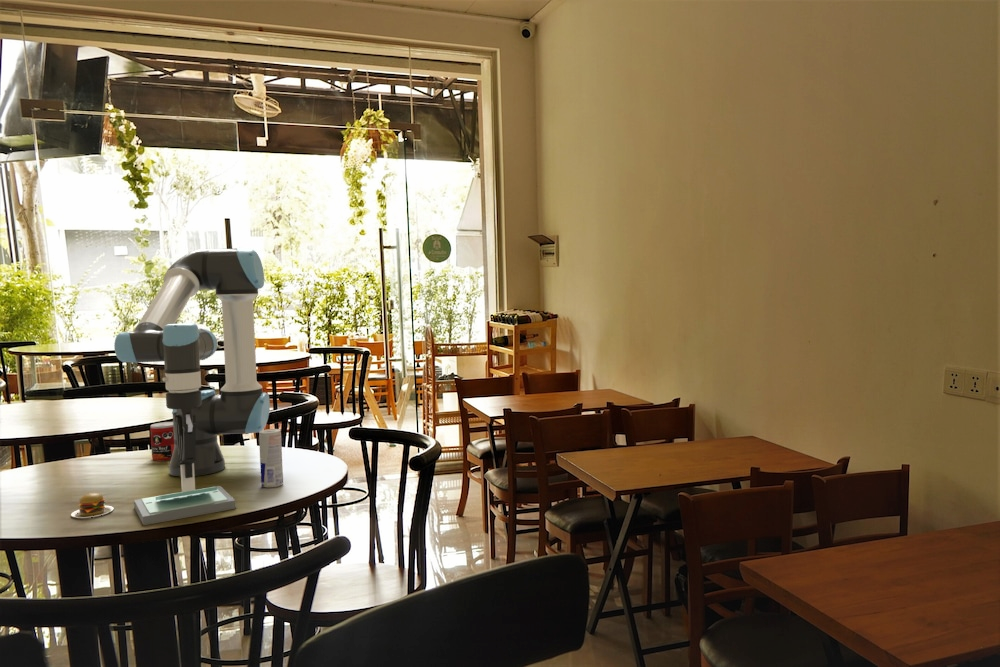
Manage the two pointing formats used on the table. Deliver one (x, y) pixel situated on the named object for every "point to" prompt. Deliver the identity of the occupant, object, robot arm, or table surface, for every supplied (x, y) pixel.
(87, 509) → the hamburger
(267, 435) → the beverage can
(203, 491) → the stub
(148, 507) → the board
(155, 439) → the canned food
